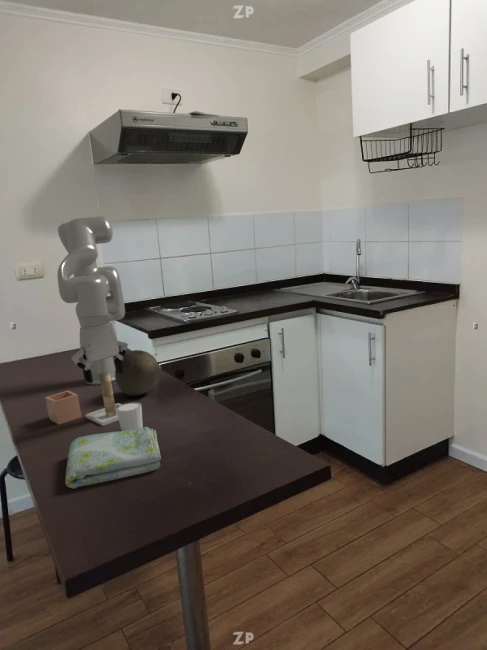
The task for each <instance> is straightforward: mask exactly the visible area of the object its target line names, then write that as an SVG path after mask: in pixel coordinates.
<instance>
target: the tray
mask: <svg viewBox="0 0 487 650" xmlns="http://www.w3.org/2000/svg"><path fill="white" fill-rule="evenodd" d="M121 405H123V404H122V403H119V402H118V403H115V409H116V408H117V407H119V406H121ZM85 418H86V419H88V420H90V421H92V422H94V423H96V424H98V425H100V426H101V427H102V426H106V425H110V424H112V423H115V422H117V421H119V419H118V416H117V412H116V415H115V416H113V417H106V412H105V407H103V408H101V409H97V410H95V411H92V412H89V413H86V414H85Z"/></svg>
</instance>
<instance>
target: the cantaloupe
mask: <svg viewBox="0 0 487 650" xmlns="http://www.w3.org/2000/svg"><path fill="white" fill-rule="evenodd" d="M122 363H123V373H122V374H120V373H117V372H116V370H115V378H116V380H115V381H116V384H117V386H118V388H119V390H120V391H121V392H123V393H124V394H125V395H127V396H131V397H138V396H141V395H143V394H145V393H147V392H148V391H150V389H152V387H153V386H154V384H156V382H157V380H158V376H159V373H160V367H159V363H158V361H157V359H156V358H155V356H154V355H153V354H152V353H150V352H148V351H145V350H141V349H140V350H139V349H134V350H131V351H128V352H126V354H125V355H124V357H123V360H122Z"/></svg>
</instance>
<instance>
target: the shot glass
mask: <svg viewBox="0 0 487 650" xmlns="http://www.w3.org/2000/svg"><path fill="white" fill-rule="evenodd" d="M116 412H117V416H118V419H119V420H118V422H119V426H120V430H121V431H126V430H133V429H138V428H142V427H143V408H142V404H141V403H140V402H129V403H124V404H122V405H121V406H119V407H117V408H116Z"/></svg>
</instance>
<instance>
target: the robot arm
mask: <svg viewBox="0 0 487 650" xmlns="http://www.w3.org/2000/svg"><path fill="white" fill-rule="evenodd" d="M57 232H58V233H57V234H58V237H59V239H60V242H61V243H62V246H63V247H64V249H65V250H66V251H67V255H66V256H65V257H64V258H63V260H62V261H61V263H60V265H59V266H58V268H57V273H56V274H57V277H56V278H57V284H58V285H57V286H58V292H59V295H60V298H61V300H62V301H63V302H64V303H66V304H75V303H76V306H75V312H76V313H75V314H76V317H77V320H78V323H79V326H80V327H79V350H78V351H77V352H76V353H75V354H73V355H72V356H71V358H70V359H71V360H72V362H73V363H74V364H75V366H76V367H78V368H80V369H81V370H82V372H83V373H82V374H83V378H84V381H86V384H88V385H93V386H94V385H101V383H100V377H99V374H100V373H104V372H109V373H110V378H111V383H112V382H114V381H116V378H115V370H116V372H117V373H120V374H122V373H123V363H122V360H123V357H124V355H125V354H126V353H127V349H128V347H129V344H128V343H127V342H124V341H120V340H118V338H117V334H116V331H115V328H114V326H113V323H112V321H114V322H115V321H118V320H119V321H120V320H122V319H124V317H125V315H126V307H125V301H124V295H123V289H122V284H121V283H122V282H121V278H120V277H121V276H120V273H119V272H118V270H117V268H115V267H114V266H108V265H107V266H100V267H99V266H98V264H97V259H98V256H99V253H98V247H97V245H99V244H108V243H110V242H111V241H112V240H113V234H114V233H113V227H112V224H111V222H110V220H109V219H108V217H105V216H91V217H78V218H74V219H72V220H70V221H68V222H63V223H61V224H60V225H59V226H58V229H57ZM109 294H110V295H109ZM119 346H120V348H119ZM119 349H120V350H119ZM80 358H81V360H83V361H82V362H81V360H79V359H80Z"/></svg>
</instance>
